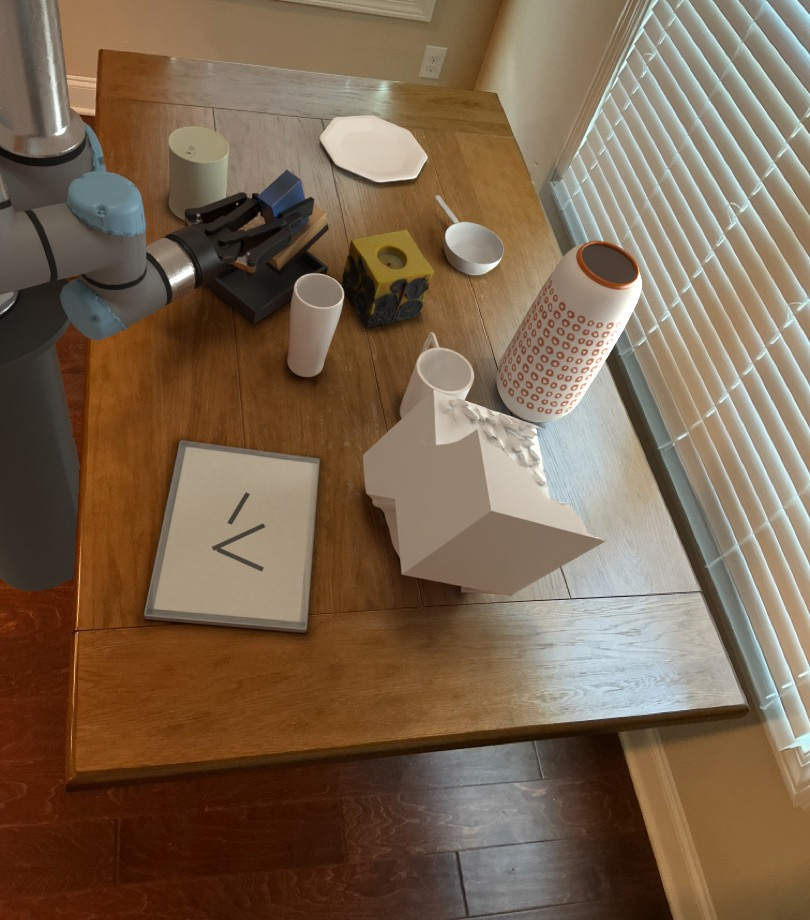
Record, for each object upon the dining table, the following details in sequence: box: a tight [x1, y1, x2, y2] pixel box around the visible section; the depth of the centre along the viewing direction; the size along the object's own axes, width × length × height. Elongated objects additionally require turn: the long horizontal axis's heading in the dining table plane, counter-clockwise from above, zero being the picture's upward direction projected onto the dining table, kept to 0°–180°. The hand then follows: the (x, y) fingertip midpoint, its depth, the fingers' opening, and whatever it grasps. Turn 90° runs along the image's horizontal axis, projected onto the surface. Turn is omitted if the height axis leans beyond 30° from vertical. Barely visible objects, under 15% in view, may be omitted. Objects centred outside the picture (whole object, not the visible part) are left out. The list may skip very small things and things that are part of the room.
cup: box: [399, 331, 475, 419], centre depth 108 cm, size 8×12×10 cm
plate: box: [318, 114, 428, 184], centre depth 144 cm, size 20×20×2 cm
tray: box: [205, 248, 329, 325], centre depth 117 cm, size 16×10×3 cm, turn 141°
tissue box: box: [362, 390, 607, 597], centre depth 90 cm, size 20×16×25 cm
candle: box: [340, 229, 435, 328], centre depth 118 cm, size 10×10×10 cm
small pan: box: [433, 195, 505, 276], centre depth 133 cm, size 11×18×4 cm, turn 32°
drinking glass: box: [286, 273, 345, 378], centre depth 105 cm, size 7×7×15 cm
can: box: [167, 125, 230, 222], centre depth 119 cm, size 9×9×12 cm
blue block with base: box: [254, 169, 329, 276], centre depth 110 cm, size 11×5×13 cm, turn 141°
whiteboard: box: [143, 439, 321, 634], centre depth 92 cm, size 18×24×1 cm
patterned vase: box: [496, 240, 643, 423], centre depth 106 cm, size 13×13×28 cm
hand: (302, 199), depth 111 cm, fingers closed on blue block with base, 3 cm apart
